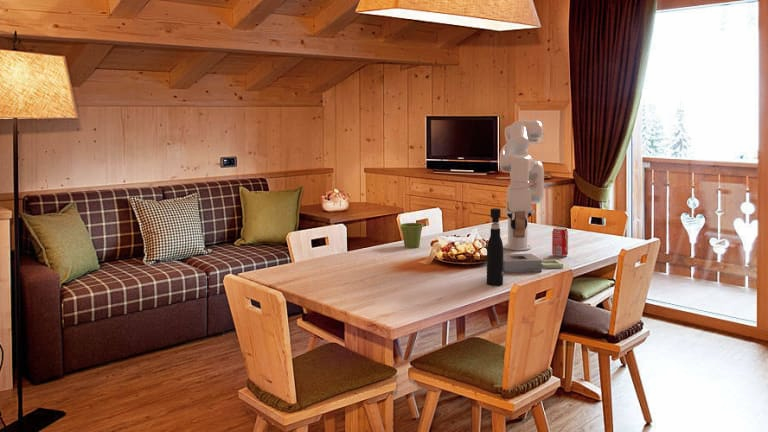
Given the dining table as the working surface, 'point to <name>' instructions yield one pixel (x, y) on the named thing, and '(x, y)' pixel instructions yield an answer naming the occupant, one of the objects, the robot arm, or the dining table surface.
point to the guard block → (521, 263)
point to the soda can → (560, 241)
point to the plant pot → (411, 234)
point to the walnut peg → (519, 225)
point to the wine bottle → (495, 252)
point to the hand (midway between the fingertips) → (518, 228)
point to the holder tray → (551, 264)
